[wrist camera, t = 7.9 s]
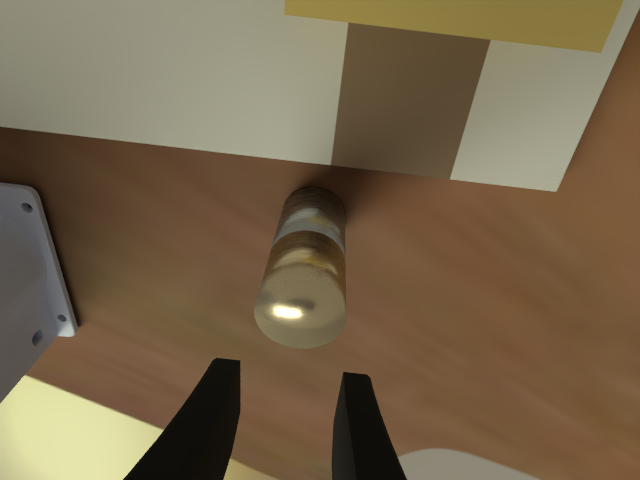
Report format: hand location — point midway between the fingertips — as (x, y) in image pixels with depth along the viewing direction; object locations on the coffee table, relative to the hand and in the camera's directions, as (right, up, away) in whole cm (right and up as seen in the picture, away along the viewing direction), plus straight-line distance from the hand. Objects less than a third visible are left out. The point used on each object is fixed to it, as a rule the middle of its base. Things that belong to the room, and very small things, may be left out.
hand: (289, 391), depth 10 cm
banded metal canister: (+1, +5, +8) cm, 10 cm away
